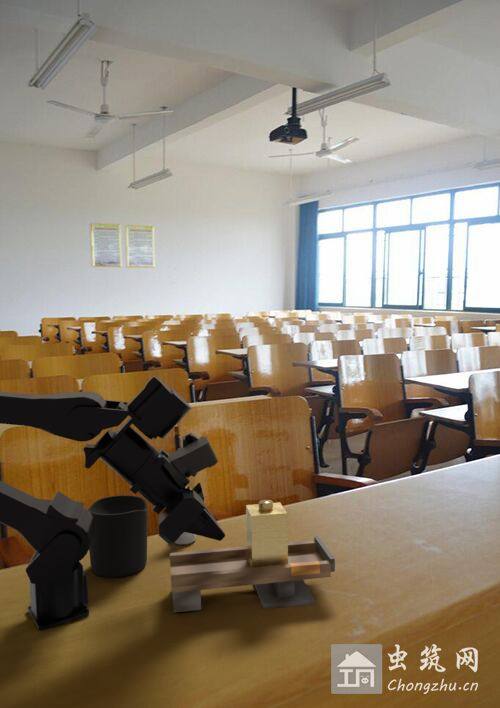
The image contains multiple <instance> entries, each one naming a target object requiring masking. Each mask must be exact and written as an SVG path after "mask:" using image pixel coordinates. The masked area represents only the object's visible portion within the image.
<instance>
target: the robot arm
mask: <svg viewBox="0 0 500 708" xmlns="http://www.w3.org/2000/svg"><path fill="white" fill-rule="evenodd" d="M192 409H193V408H192V407H191V405H190V404H189V403H188V402H187V401H186V400H185V399H184V398H183V397H182V396H181V395H180V393H178V392H177V391H176V390H175V389H174V388H170V386H168V385H167V384H166V383H165V382H163V381H162V380H161V379H159V377H157V376H156V375H152V377H150V379H148V381H147V382H146V383H145V385H144V386H143V388H142V389H141V390H140V391H139V392H138V393H137V395H135V396H134V397H133V398H132V400H131V401H130V402H129V401H123V400H109V399H105V398H104V397H103V396H102V395H101V394H99V393H98V392H95V391H87V390H86V391H73V392H72V391H71V392H60V393H52V394H41V395H38V394H29V393H19V392H18V393H17V392H9V391H0V424H3V425H13V426H25V427H30V428H35V429H39V430H41V431H43V432H46V433H49V434H51V435H53V436H56V437H57V436H58V437H60V438H64V439H67V440H71V441H76V442H81V443H82V442H88V441H92V440H94V439H95V438H96V437H97V436H99V435H100V434H101V433H102V431H103V430H107V431H106V432H105V433H104V434H103V435H102V436H101V437H100V438H99V439H97V441H96V442H95V443H92V444H91V443H89V444H88V443H87V444H85V445H84V447H83V453H84V457H85V458H84V461H85V462H84V468H85V469H87V470H88V469H90V468H92V466H93V465H94V464H95V463H96V462H97V461H98V460H99V459H100V460H101V461H103V462H104V463H105V464H106V465H107V466H108V467H109V468H110V469H111V470H113V472H115V473H116V474H117V475H118V476H120V477H121V478H122V479H123V480H124V481H125V482H126V483H127V484H129V491H130V492H132V493H133V494H134V495H136V494H137V493H138V494H140V495H141V497H143V498H144V499H145V500H146V501H148V502H149V503H150V504H152V511H154V512H155V513H156V514H157V515H158V536H159V537H160V538H161V539H162V540H163V541H165V542H166V543H167V544H168V545H169V546H171V545H173V544H174V542H175V541H176V540H177V539H178V538H179V537H180V536H181V535H182V534H183V533H184V532H187V533H191V534H195V536H196V535H197V536H200V537H204V538H207V539H210V540H215V541H222V540H223V539H224V538H225V537H226V533H225V531H224V530H223V528H222V527H221V525H220V524H219V523H218V521H217V520H216V518H215V517H214V515H213V514H212V512H211V511H210V509H209V508H208V507H207V505H206V504H205V495H204V492H203V488H202V484H201V482H198V483H197V484H196V485H195V486H194V487H193V488H192V487H190V486H188V485H189V484H190V483H191V480H190V479H189V478H190V477H193V478H195V477H196V476H197V474H198V473H199V472H201V471H203V470H206V469H207V468H212V467H214V466H215V465H217V464H218V462H219V459H218V457H217V455H216V453H215V451H214V449H213V447H212V445H211V443H210V441H209V438H208V437H207V436H204V435H202V436H200V437H198V436H197V435H196V434H194V433H192V432H189V433H188V434H185V435H184V436H182V441H181V442H182V444H181V445H182V447H179V448H177V450H175V451H174V452H172V453H171V454H170V453H168V451H166V450H165V449H156V448H155V447H154V445H152V443H150V442H149V441H147V439H149V440H153V439H154V440H157V438H161V439H165V438H166V437H167V435H168V434H169V433H170V432H172V430H173V429H174V428H175V427H176V426H177V425H178V424H179V423H180V422H181V421H182V420H183V419H184V417H185V416H186V415H187V414H188V413H189V412H190V411H191V410H192ZM128 417H129V418H128ZM127 418H128V419H127ZM126 419H127V420H126ZM125 420H126V421H125ZM124 421H125V422H124ZM123 422H124V423H123ZM122 423H123V424H122ZM121 424H122V425H121ZM120 425H121V426H120ZM131 425H134V427H135V428H136V429H138V431H137V430H135V429H134V428H133V427H132V426H131ZM119 426H120V427H119ZM117 427H119V428H118V430H116V431H115V430H113V429H112V428H117ZM139 431H140V433H142V434H143V436H145V437H147V439H145V437H143V436H142V435H141V434H140V433H139ZM84 507H85V502H81V501H80V502H79V501H76V500H73V499H71V498H70V497H68V496H67V495H65V494H64V493H63V492H60V491H57V492H56V493H55V494H54V497H53V498H52V499H44V498H43V499H42V498H39V497H38V498H37V497H34V496H32V495H31V494H29V493H26V492H24V491H23V490H20V489H18V488H16V487H14V486H12V485H10V484H8V483H5V482H4V481H2V480H0V524H2V525H4V526H6V527H8V528H10V529H12V530H15V531H16V532H18V533H19V534H20V535H21V536H22V538H23V539H24V540H25V541H26V542H27V543H28V544H29V545H30V547H31V548H32V549H33V550H34V551H35V552H34V553H33V555H32V557H31V558H30V560H29V562H28V564H27V566H26V568H25V572H26V574H27V577H28V579H29V590H30V591H29V592H30V605H29V606H28V607H27V612H28V613H29V615H30V617H31V619H32V620H33V622H34V623H35V625H36V627H37V629H38V630H40V631H42V630H47V629H50V628H52V627H56V626H60V625H62V624H65V623H69V622H71V621H74V620H77V619H81V618H83V617H87V616H89V615H90V610H89V608H88V607H87V605H88V604H89V603H90V601H89V583H88V582H89V581H88V575H87V574H86V572H85V571H84V565H83V564H82V563H81V562H80V561H82V560H83V559H84V558H85V556H87V554H88V553H89V547H90V544H91V540H92V537H93V534H94V530H95V523H94V520H93V517H92V514H91V513H90V512H89V511H88V509H86V508H84Z"/></svg>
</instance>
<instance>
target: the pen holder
mask: <svg viewBox="0 0 500 708" xmlns="http://www.w3.org/2000/svg"><path fill="white" fill-rule="evenodd" d="M87 510H88V511H89V512H90V513H91V514H92V517H93V520H94V523H95V530H94V534H93V537H92V540H91V544H90V547H89V550H88V553H89V564H90V569H91V571H92V572H93V573H94V574H95V575H96V576H99V577H102V578H108V579H110V578H111V579H115V578H123V577H128V576H132V575H134V574H137V573H139V572H140V571H142V570H143V569H144V567H145V566H146V564H147V563H148V561H147V560H148V503H147V499H146V498H145V497H143V496H138V495H130V494H129V495H128V494H123V495H122V494H121V495H110V496H105V497H101V498H99V499H97V500H96V501H95V502H92V504H91V506H90V507H89V508H88V509H87Z"/></svg>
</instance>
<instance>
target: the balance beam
mask: <svg viewBox="0 0 500 708" xmlns="http://www.w3.org/2000/svg"><path fill="white" fill-rule="evenodd" d="M169 565H170V586H171V594H172V603H173V604H172V605H173V613H182V612H191V611H193V612H194V611H200V610H202V601H201V600H202V595H201V594H202V593H201V592H202V591H205V590H212V589H213V590H214V589H222V588H233V587H242V586H254V587H255V590H256V592H257V596H258V599H259V602H260V603H261V607H262V609H263V610H269V609H278V608H279V609H280V608H286V607H297V606H306V605H314V604H315V599H314V596H313V595H312V593H311V591H310V590H309V587H308V586H307V585H306V582H305V581H304V580H313V579H323V578H331V577H332V575H331V574H332V572H333V573H334V572H335V571H336V559H335V557H334V556H333V554H332V552H331V551H330V550H329V549H328V547H327V546H326V544H325V543H324V542H323V541H322V539H321V538H320V536H319V535H314V537H313V540H303V541H301V540H300V541H290V542H288V564H284V565H274V566H263V567H252V568H250V565H249V563H248V560H247V545H245V546H235V547H234V546H233V547H224V548H213V549H212V548H211V549H200V550H199V549H198V550H189V551H187V550H186V551H178V552H176V551H175V552H170V553H169Z"/></svg>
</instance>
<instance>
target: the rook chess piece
mask: <svg viewBox="0 0 500 708" xmlns="http://www.w3.org/2000/svg"><path fill="white" fill-rule="evenodd" d="M196 539H197V536H196V534H191V533H187V532H184V533H183V534H182V535H181V536H180V537H179V538H178V539H177V540H176V541H175V542H174V543H175V545H178V546H179V545H180V546H187V545H189V544H190V545H191V544H193V543H194V542H195V541H196ZM174 543H173V544H174Z"/></svg>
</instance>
